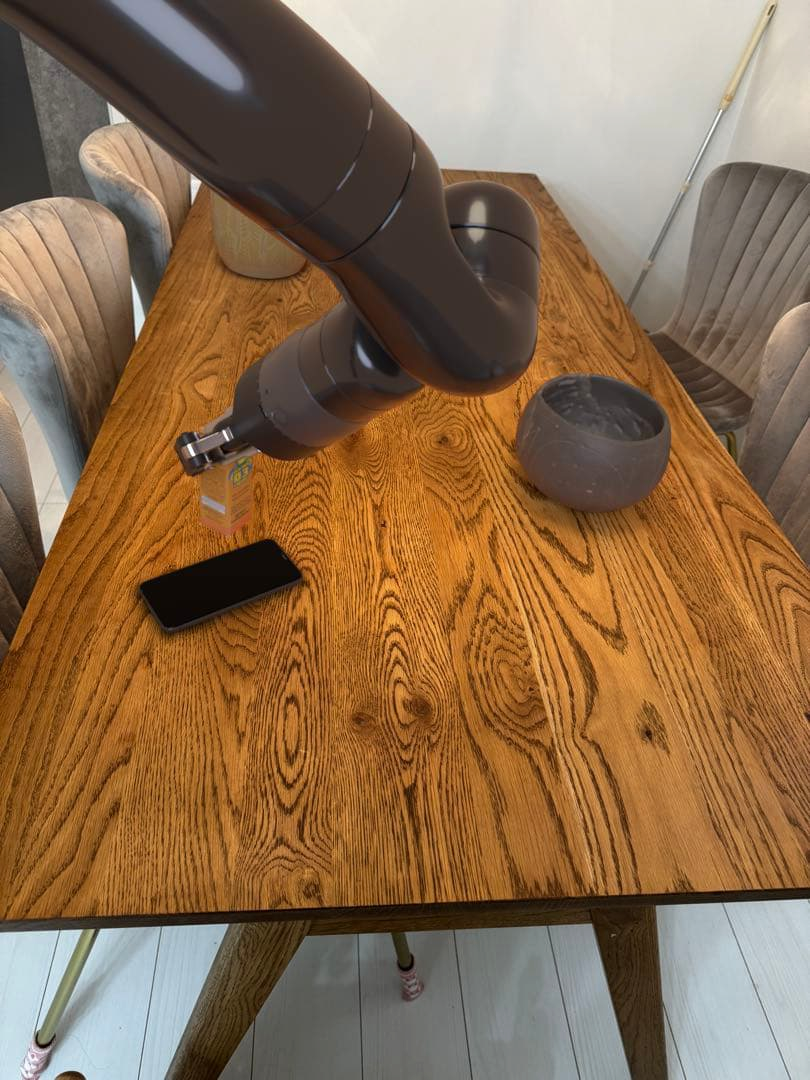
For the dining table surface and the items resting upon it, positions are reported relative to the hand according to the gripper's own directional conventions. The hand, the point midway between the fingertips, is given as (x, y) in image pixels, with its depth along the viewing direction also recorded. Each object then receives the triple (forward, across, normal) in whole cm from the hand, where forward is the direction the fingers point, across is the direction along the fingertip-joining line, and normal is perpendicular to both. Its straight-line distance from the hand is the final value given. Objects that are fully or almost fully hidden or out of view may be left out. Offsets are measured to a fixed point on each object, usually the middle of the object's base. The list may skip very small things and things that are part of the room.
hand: (211, 455), depth 68 cm
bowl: (+4, -45, +20) cm, 50 cm away
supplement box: (+3, 0, +6) cm, 7 cm away
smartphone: (+13, -2, +11) cm, 18 cm away
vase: (+56, -54, -32) cm, 84 cm away
